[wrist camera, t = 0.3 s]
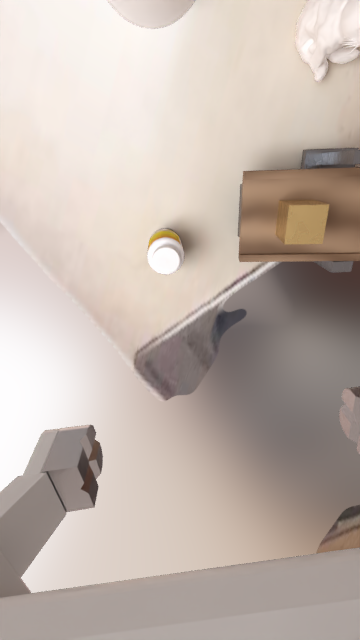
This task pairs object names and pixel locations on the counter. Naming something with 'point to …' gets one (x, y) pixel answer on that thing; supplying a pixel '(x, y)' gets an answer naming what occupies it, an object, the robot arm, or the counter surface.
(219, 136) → the counter surface
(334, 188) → the beam
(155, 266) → the supplement bottle
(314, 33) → the white seated figurine
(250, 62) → the counter surface
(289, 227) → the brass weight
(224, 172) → the counter surface
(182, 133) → the counter surface
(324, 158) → the trestle
